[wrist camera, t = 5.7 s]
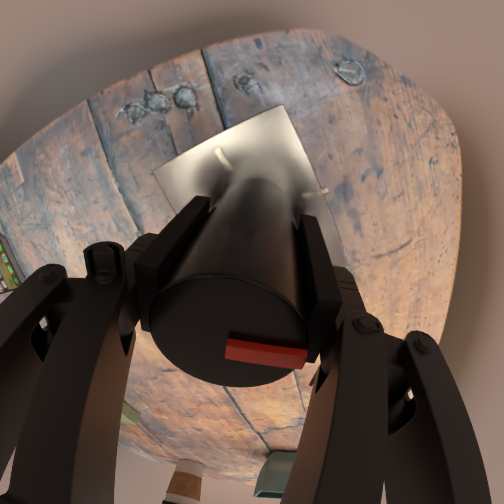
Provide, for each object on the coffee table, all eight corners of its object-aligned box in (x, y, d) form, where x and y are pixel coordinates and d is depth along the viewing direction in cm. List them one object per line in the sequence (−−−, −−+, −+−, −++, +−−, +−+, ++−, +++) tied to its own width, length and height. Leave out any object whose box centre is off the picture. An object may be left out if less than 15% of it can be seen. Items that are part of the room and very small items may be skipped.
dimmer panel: (166, 164, 17) (146, 175, 14) (286, 104, 14) (288, 100, 12) (235, 282, 21) (228, 308, 18) (344, 242, 18) (354, 265, 15)
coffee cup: (201, 469, 50) (192, 517, 37) (170, 460, 49) (157, 508, 36) (213, 465, 46) (203, 519, 33) (178, 454, 45) (164, 509, 32)
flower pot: (256, 459, 41) (252, 497, 33) (263, 445, 36) (259, 491, 29) (300, 461, 40) (299, 499, 32) (314, 448, 36) (314, 492, 28)
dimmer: (211, 247, 16) (153, 378, 8) (218, 173, 14) (134, 265, 6) (286, 259, 16) (286, 403, 8) (302, 187, 14) (334, 300, 6)
